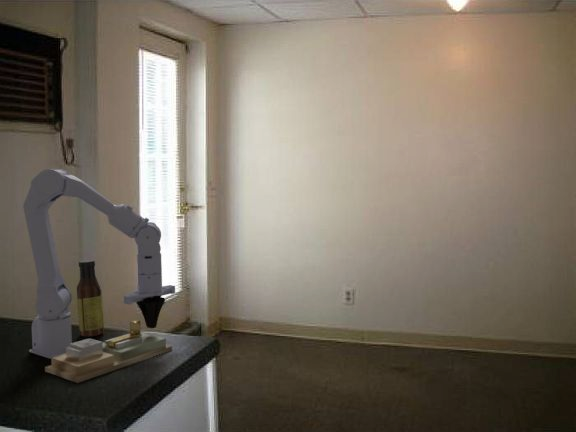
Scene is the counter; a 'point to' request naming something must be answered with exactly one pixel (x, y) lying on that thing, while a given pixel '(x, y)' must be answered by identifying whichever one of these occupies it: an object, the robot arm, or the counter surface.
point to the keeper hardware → (95, 347)
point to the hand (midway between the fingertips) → (151, 327)
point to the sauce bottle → (89, 301)
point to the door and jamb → (107, 359)
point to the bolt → (134, 333)
